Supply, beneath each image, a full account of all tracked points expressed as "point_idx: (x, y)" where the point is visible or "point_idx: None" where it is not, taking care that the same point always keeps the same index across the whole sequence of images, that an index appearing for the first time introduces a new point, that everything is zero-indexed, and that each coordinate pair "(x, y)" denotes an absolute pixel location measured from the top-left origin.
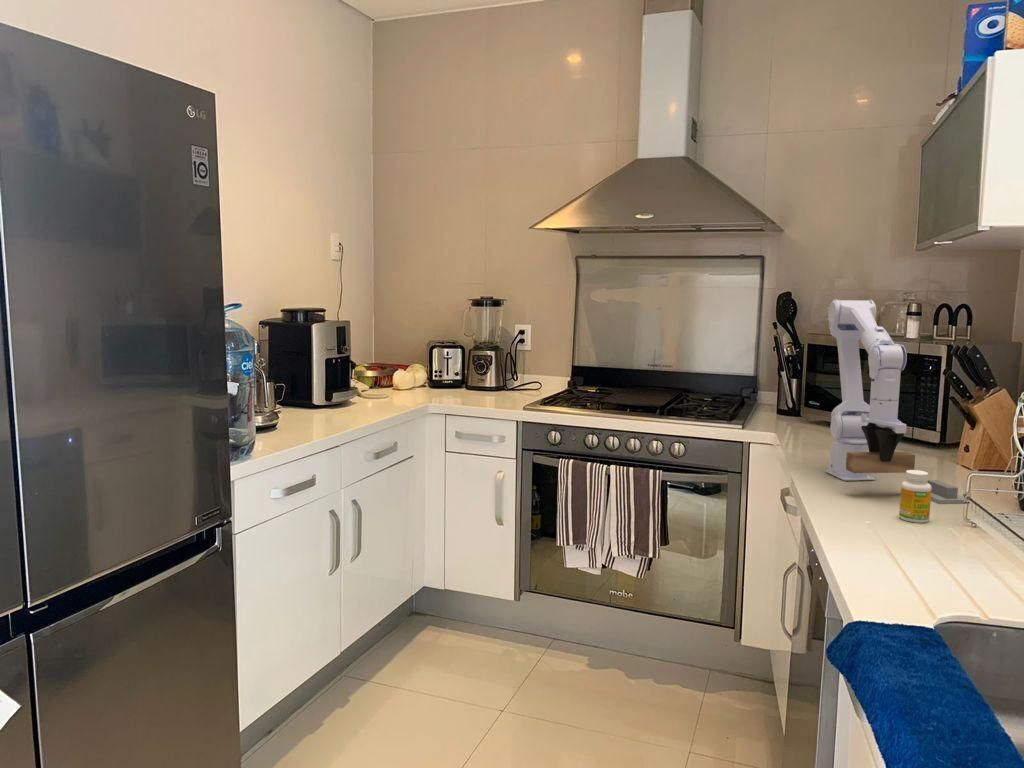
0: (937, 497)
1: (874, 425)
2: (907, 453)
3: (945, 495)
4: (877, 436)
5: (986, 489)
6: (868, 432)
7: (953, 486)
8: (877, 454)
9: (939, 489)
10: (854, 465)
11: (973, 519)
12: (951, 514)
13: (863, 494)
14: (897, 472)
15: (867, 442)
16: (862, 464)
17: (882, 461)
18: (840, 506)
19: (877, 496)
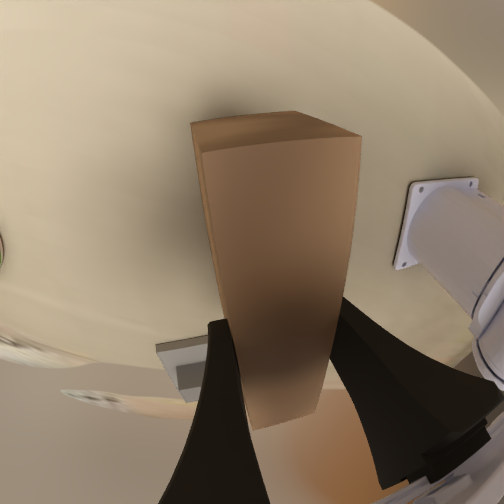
0: (184, 355)
1: (429, 473)
2: (281, 417)
3: (181, 371)
4: (254, 472)
5: None
6: (423, 414)
7: (198, 399)
8: (258, 336)
9: None
10: (194, 132)
11: (42, 355)
12: (61, 336)
13: None
14: None
15: (399, 342)
16: (203, 197)
17: (209, 324)
18: (58, 33)
19: None
